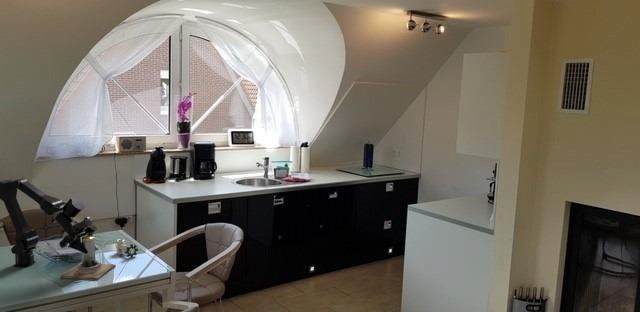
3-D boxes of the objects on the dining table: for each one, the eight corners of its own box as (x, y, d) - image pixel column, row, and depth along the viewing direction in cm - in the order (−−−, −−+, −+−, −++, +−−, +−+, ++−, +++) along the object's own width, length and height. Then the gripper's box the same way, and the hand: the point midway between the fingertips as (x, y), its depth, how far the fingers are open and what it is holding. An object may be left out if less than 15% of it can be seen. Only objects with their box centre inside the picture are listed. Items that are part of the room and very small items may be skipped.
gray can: (82, 268, 216) (81, 239, 214) (82, 263, 221) (81, 236, 219) (95, 266, 218) (94, 238, 217) (95, 262, 223) (94, 235, 221)
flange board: (61, 277, 213) (60, 269, 212) (81, 264, 228) (81, 257, 228) (97, 280, 212) (97, 272, 211) (115, 266, 227) (115, 259, 227)
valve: (112, 253, 245) (125, 259, 237) (112, 240, 244) (125, 246, 237) (124, 250, 250) (138, 256, 243) (124, 237, 249) (138, 243, 242)
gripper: (64, 217, 208) (89, 246, 208) (93, 207, 226) (115, 233, 226) (48, 234, 210) (72, 262, 210) (77, 222, 229) (99, 248, 228)
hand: (91, 251), depth 218 cm, fingers closed on gray can, 5 cm apart
